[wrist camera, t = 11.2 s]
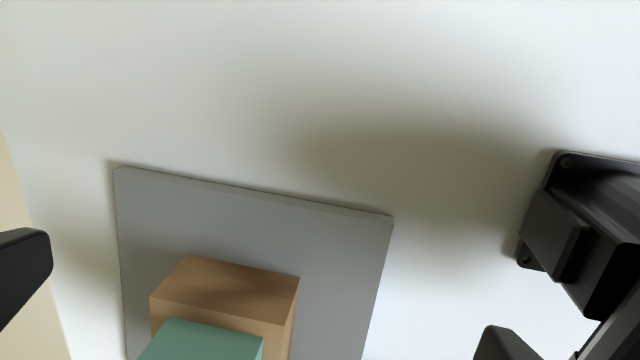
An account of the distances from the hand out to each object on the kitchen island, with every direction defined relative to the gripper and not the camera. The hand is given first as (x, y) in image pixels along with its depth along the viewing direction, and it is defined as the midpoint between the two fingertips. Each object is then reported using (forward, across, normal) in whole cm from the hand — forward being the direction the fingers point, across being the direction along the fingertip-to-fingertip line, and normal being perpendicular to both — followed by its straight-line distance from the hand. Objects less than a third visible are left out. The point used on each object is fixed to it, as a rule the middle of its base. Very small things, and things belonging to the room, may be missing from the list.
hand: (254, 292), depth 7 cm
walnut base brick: (+12, +4, +12) cm, 17 cm away
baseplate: (+13, +4, +12) cm, 18 cm away
